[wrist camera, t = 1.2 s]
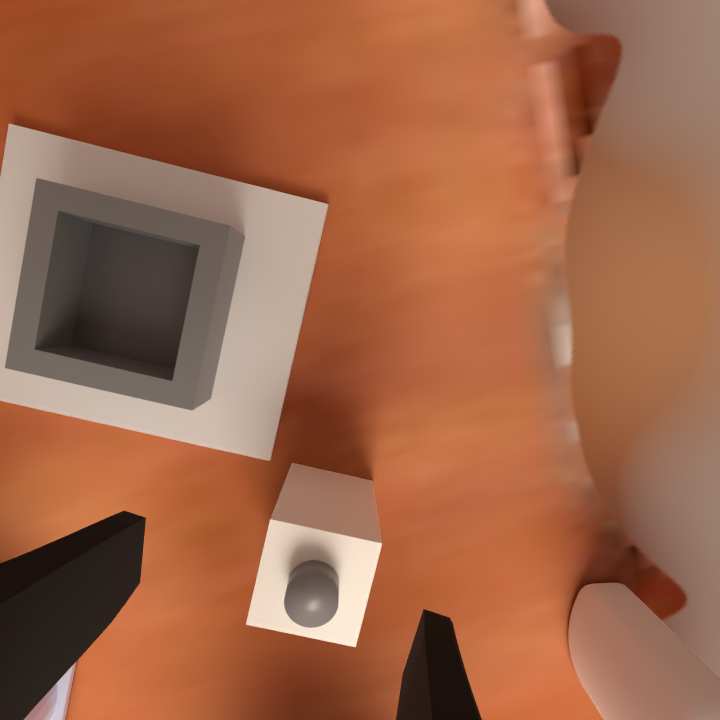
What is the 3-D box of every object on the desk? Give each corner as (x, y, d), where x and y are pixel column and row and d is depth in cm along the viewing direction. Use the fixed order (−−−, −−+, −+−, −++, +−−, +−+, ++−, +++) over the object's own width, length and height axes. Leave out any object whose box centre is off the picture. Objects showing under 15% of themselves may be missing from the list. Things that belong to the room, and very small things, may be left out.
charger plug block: (353, 557, 22) (356, 669, 15) (274, 540, 22) (239, 645, 15) (373, 480, 22) (384, 558, 15) (292, 462, 22) (265, 532, 15)
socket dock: (271, 458, 22) (259, 480, 19) (-27, 391, 21) (-87, 404, 18) (328, 206, 20) (325, 188, 18) (15, 127, 20) (-42, 95, 17)
